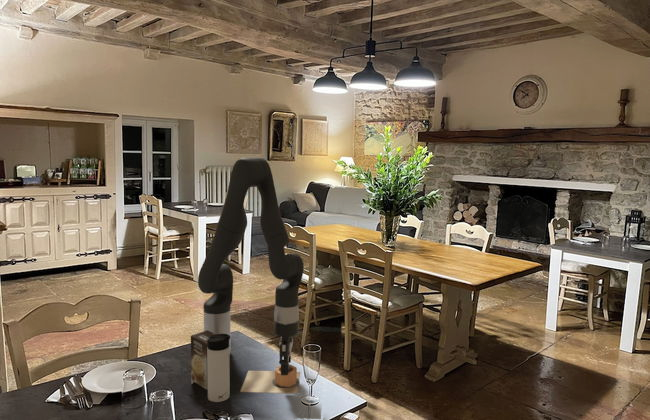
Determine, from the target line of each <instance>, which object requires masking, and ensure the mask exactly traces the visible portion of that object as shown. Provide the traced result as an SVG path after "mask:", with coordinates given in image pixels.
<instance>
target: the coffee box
mask: <svg viewBox="0 0 650 420" xmlns="http://www.w3.org/2000/svg"><path fill="white" fill-rule="evenodd" d="M213 335H216V334H214V333H212V332H210V331H208V330H207V331H204V330H203V331H201V332H198V333H195V334H192V335H190V371H191V373H190V378H191V379H190V381H191V383H190V384H191V385H193V384H194V383H195V384H197V385H199V386H200V387H201V388H203V389H204V390H207V391H208V371H207V345H208V344H207V340H208V338H210V337H211V336H213Z"/></svg>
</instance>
